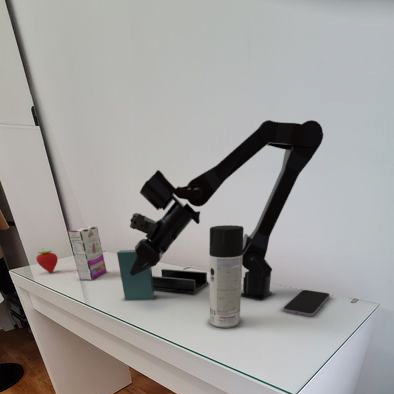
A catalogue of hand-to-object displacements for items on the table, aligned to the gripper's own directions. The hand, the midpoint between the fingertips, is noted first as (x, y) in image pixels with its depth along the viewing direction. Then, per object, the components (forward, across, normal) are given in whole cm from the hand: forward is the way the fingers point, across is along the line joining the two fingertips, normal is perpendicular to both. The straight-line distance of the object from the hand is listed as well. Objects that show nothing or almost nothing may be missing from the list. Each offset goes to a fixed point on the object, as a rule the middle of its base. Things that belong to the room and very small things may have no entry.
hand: (135, 270), depth 78 cm
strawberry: (+36, -33, -24) cm, 55 cm away
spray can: (-11, +18, +23) cm, 31 cm away
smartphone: (-26, +8, +37) cm, 46 cm away
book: (+6, 0, +6) cm, 8 cm away
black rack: (-2, -10, +13) cm, 16 cm away
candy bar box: (+22, -26, -10) cm, 36 cm away
